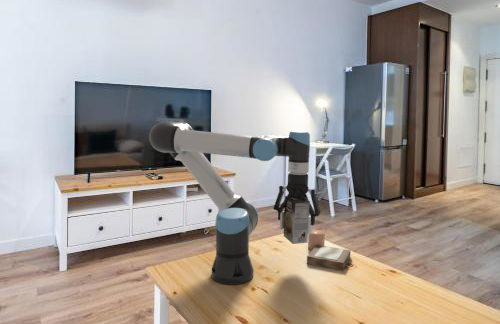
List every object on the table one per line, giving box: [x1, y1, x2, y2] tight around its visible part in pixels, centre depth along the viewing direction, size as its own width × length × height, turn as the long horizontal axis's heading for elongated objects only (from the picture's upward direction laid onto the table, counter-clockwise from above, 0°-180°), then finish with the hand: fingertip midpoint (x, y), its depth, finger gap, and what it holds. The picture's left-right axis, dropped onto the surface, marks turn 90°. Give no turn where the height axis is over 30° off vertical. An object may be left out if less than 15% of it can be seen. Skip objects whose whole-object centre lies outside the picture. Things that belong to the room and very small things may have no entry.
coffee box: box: [283, 195, 311, 245], centre depth 135 cm, size 9×6×16 cm
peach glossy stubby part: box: [307, 229, 326, 251], centre depth 155 cm, size 7×7×7 cm
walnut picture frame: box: [306, 245, 351, 271], centre depth 142 cm, size 14×14×3 cm
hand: (295, 230), depth 135 cm, fingers closed on coffee box, 10 cm apart
